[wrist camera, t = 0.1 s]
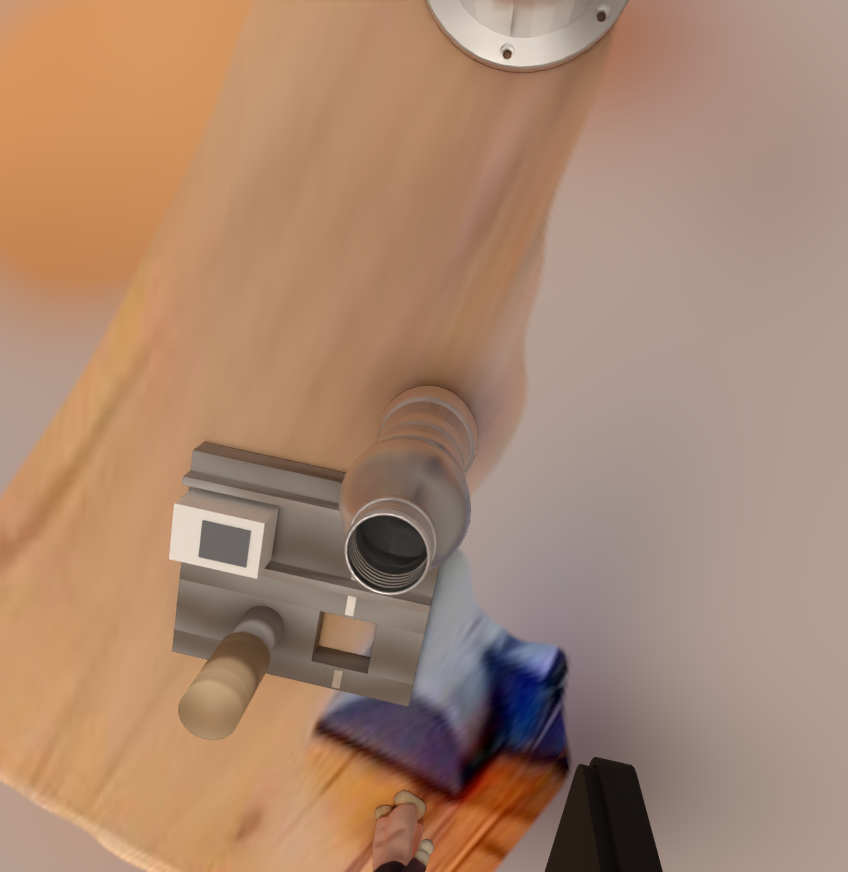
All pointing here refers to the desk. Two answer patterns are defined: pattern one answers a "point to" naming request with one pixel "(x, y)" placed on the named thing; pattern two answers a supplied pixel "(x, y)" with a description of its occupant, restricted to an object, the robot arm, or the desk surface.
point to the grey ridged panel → (299, 582)
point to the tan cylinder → (231, 676)
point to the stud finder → (223, 532)
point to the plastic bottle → (409, 491)
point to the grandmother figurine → (401, 836)
